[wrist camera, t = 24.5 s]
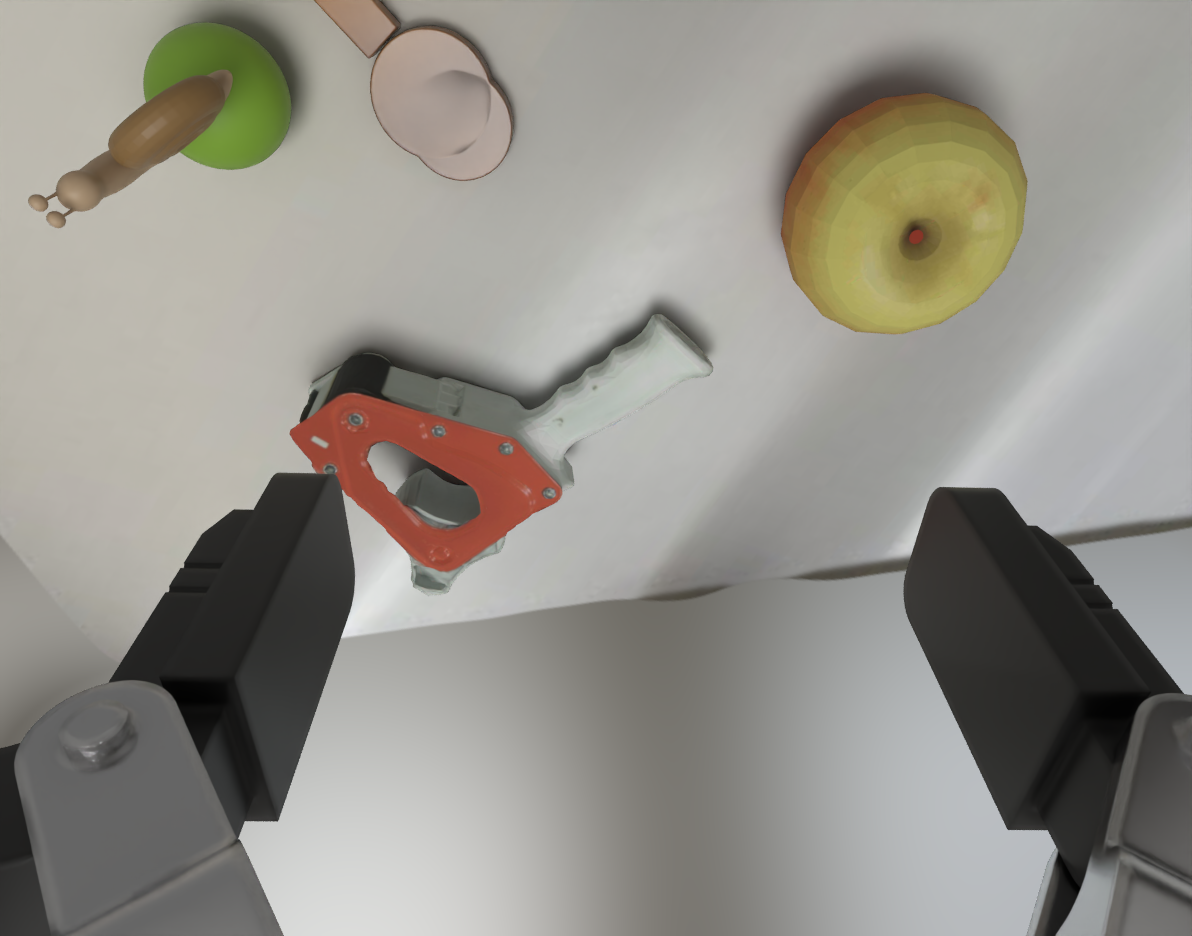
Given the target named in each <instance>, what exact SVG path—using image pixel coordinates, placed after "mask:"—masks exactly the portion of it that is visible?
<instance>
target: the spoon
mask: <svg viewBox="0 0 1192 936" xmlns="http://www.w3.org/2000/svg"><path fill="white" fill-rule="evenodd" d="M314 1H315V2H316V3H317V4H318V5H319V6H320V7H321V8H322V9H323V10H324V12H325V13H326V14H327V15H328V16H329V17H330V18H331V19H332V20H333V21H334V22H335V23H336V24H337V25H338V27H339V28H340V29H341V30H342V31H343V32H344V33H345V34H346V35H347V36H348V37H349V38H350V39H351V40H352V42H353V43H354V44H355V45H356V46H357V47H358V48H359V49H360V50H361V51H362V52H363V53H364V54H365V55H366V57H367V58H371V57H373V56H374V55H375V54H376V53H377V52H378V51H379V50H380V49H381V48H382V47H383V45H384V44H385V43H386V42H387V41H388V40H389V39H390V38H391V36H392V35H393V34H394V33H395V32H396V31H397V30H398V29H399V27H400V26H401V24H400V23H399V22H398V21H397V19H396V18H395V17H394V16H393V15H392V14H391V13H390V12H389V10H388V9H387V8H386V7H385V6H384V5H383V4H382V3H381V2H380V0H314ZM370 93H371V100H372V105H373V108H374V111H375V114H376V116H377V119H378V121H379V122H380V124H381V126H382V128H383V129H384V130H385V132H386V133H387V134H388V136H389V137H390V138H391V139H392V140H393V141H394V142H395V143H396V144H397V145H399V146H400V147H401V148H403V149H404V150H406V151H408V152H409V153H411V154H414V155H416V156H418V157H419V158H420V159H421V161H422V162H423V163H424V164H425V165H426V166H427V167H428V168H430V169H431V170H433V171H434V172H435V173H437V174H439V175H441V176H443V177H446V178H449V179H453V180H459V181H468V180H475V179H478V178H481V177H483V176H486V175H487V174H489V173H491V172H492V171H493V170H494V169H496V168H497V167H498V166H499V164H500V163H501V162H502V161H503V159H504V158H505V156H506V154H507V152H508V149H509V146H510V143H511V140H512V136H513V127H514V125H513V115H512V110H511V107H510V104H509V102H508V99H507V97H506V95H505V94H504V92H503V91H502V89H501V88H500V87H499V85H498V84H497V83H496V82H495V81H494V80H493V79H492V77H491V73H490V71H489V68H488V66H487V64H486V62H485V60H484V59H483V57H482V56H481V54H480V53H479V52H478V50H477V49H476V48H475V47H474V46H473V45H472V44H471V43H470V42H469V41H468V40H466V39H465V38H464V37H462V36H461V35H459V34H457V33H456V32H453V31H451V30H449V29H446V28H442V27H437V26H420V27H415V28H411V29H408V30H406V31H404V32H402V33H400V34H399V35H397V36H396V37H394V38H393V39H391V40H390V41H389V42H388V43H387V44H386V45H385V46H384V48H383V49H382V50H381V51H380V53H379V55H378V57H377V58H376V61H375V63H374V66H373V69H372V74H371V81H370Z"/></svg>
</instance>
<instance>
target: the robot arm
mask: <svg viewBox="0 0 1192 936" xmlns="http://www.w3.org/2000/svg"><path fill="white" fill-rule="evenodd" d="M354 586H355V568H354V560H353V554H352V548H351V542H350V536H349V530H348V524H347V518H346V512H345V506H344V500H343V494H342V489H341V484H340V481H339V479H338V477H337V476H336V475H335V474H320V473H276V474H275V475H274V476H273V477H272V478H271V480H270V482H269V484H268V485H267V487H266V489H265V491H264V492H263V494H262V496H261V498H260V499H259V501H258V503H257V505H256V506H255V508H254V510H235V509H234V510H233V511H231V512H230V513H229V514H227V515H226V516H225V517H224V518H222V519H221V520H220V521H218V522H217V523H216V524H214V525H213V526H212V527H211V528H209V529H208V530H207V531H205V532H204V533H203V534H202V535H201V537H200V538H199V540H198V541H197V543H196V545H195V546H194V548H193V549H192V551H191V552H190V554H189V556H188V557H187V559H186V560H185V562H184V568H180V570H179V572H178V573H177V575H176V576H175V578H174V579H173V581H172V583H171V584H170V586H169V588H170V589H169V592H165V594H164V595H163V597H162V598H161V600H160V602H159V603H158V605H157V606H156V608H155V610H154V611H153V613H152V614H151V616H150V618H149V619H148V621H147V622H146V624H145V625H144V627H143V629H142V630H141V632H140V633H139V635H138V637H137V638H136V640H135V641H134V643H133V644H132V646H131V648H130V649H129V651H128V652H127V654H126V656H125V657H124V659H123V660H122V662H121V664H120V665H119V667H118V668H117V670H116V671H115V673H114V675H113V676H112V678H111V679H110V681H109V683H106V684H102V685H98V686H95V687H93V688H90V689H87V690H84V691H82V692H80V693H77V694H75V695H73V696H71V697H70V698H68V699H66V700H64V701H63V702H61V703H59V704H58V705H56V706H55V707H53V708H52V709H51V710H49V711H48V712H47V713H46V714H45V715H43V716H42V717H41V718H40V719H39V720H38V721H37V722H36V723H35V724H34V725H33V726H32V727H31V729H30V730H29V731H28V732H27V734H26V735H25V737H24V738H23V740H22V741H21V743H19V744H15V745H12V746H8V747H5V748H0V936H284V935H283V933H282V931H281V928H280V926H279V924H278V922H277V919H276V917H275V915H274V913H273V911H272V908H271V906H270V904H269V902H268V899H267V897H266V895H265V893H264V890H263V888H262V886H261V884H260V882H259V879H258V877H257V875H256V873H255V870H254V868H253V866H252V864H251V862H250V859H249V857H248V855H247V853H246V851H245V849H244V847H243V845H242V843H241V841H240V840H239V839H238V837H239V835H240V832H241V829H242V827H243V824H244V822H245V821H278V820H279V817H280V814H281V811H282V808H283V805H284V802H285V799H286V797H287V794H288V791H289V788H290V785H291V782H292V779H293V776H294V773H295V770H296V767H297V764H298V762H299V759H300V756H301V753H302V750H303V747H304V744H305V741H306V738H307V735H308V732H309V729H310V726H311V724H312V721H313V718H314V715H315V712H316V709H317V706H318V703H319V700H320V697H321V694H322V691H323V688H324V686H325V683H326V680H327V677H328V674H329V671H330V668H331V665H332V662H333V659H334V656H335V653H336V651H337V648H338V645H339V642H340V639H341V636H342V633H343V630H344V627H345V624H346V621H347V618H348V615H349V613H350V609H351V606H352V601H353V595H354ZM904 602H905V609H906V613H907V616H908V619H909V621H910V624H911V626H912V628H913V630H914V632H915V634H916V636H917V638H918V641H919V642H920V645H921V647H922V649H923V651H924V653H925V655H926V657H927V660H928V662H929V664H930V666H931V668H932V670H933V672H934V674H935V677H936V679H937V681H938V683H939V685H940V687H941V689H942V691H943V694H944V696H945V698H946V700H947V702H948V704H949V706H950V708H951V711H952V713H953V715H954V717H955V719H956V721H957V723H958V725H959V728H960V729H961V732H962V734H963V736H964V738H965V740H966V742H967V744H968V746H969V749H970V750H971V753H972V755H973V757H974V759H975V761H976V764H977V766H978V768H979V770H980V772H981V774H982V776H983V778H984V781H985V783H986V785H987V787H988V789H989V791H990V793H991V795H992V798H993V800H994V802H995V804H996V806H997V808H998V810H999V812H1000V814H1001V817H1002V819H1003V821H1004V823H1005V825H1006V827H1007V829H1008V830H1048V831H1049V834H1050V835H1051V837H1052V839H1053V841H1054V843H1055V845H1056V849H1055V850H1054V852H1053V853H1052V855H1051V857H1050V859H1049V861H1048V864H1047V866H1046V869H1045V873H1044V876H1043V880H1042V883H1041V887H1040V890H1039V894H1038V897H1037V900H1036V904H1035V907H1034V911H1033V914H1032V918H1031V921H1030V925H1029V928H1028V932H1027V935H1026V936H1192V695H1187V694H1184V693H1183V692H1182V691H1181V690H1180V688H1179V687H1178V686H1177V685H1176V683H1175V682H1174V680H1173V679H1172V678H1171V677H1170V675H1169V674H1168V673H1167V672H1166V670H1165V669H1164V668H1163V666H1162V665H1161V664H1160V663H1159V661H1158V660H1157V659H1156V658H1155V656H1154V655H1153V654H1152V653H1151V651H1150V650H1149V649H1148V648H1147V646H1146V645H1145V644H1144V642H1143V641H1142V640H1141V639H1140V637H1139V636H1138V635H1137V633H1136V632H1135V631H1134V630H1133V628H1132V627H1131V626H1130V625H1129V623H1128V622H1127V621H1126V619H1125V618H1124V617H1123V616H1122V614H1121V613H1120V612H1119V610H1118V609H1113V608H1112V604H1113V603H1112V602H1111V600H1110V599H1109V598H1108V596H1107V595H1106V594H1105V593H1104V591H1103V590H1102V589H1101V588H1100V586H1099V585H1094V579H1093V577H1092V576H1091V575H1090V574H1089V572H1088V571H1087V570H1086V569H1085V567H1084V566H1083V565H1082V564H1081V562H1080V561H1079V560H1078V558H1077V557H1076V556H1075V555H1074V553H1073V552H1072V551H1071V550H1070V549H1068V548H1067V547H1066V546H1064V545H1063V544H1061V543H1060V542H1059V541H1057V540H1056V539H1055V538H1053V537H1052V536H1050V535H1049V534H1048V533H1046V532H1045V531H1043V530H1042V529H1041V528H1039V527H1038V526H1027V524H1026V523H1025V522H1024V520H1023V519H1022V518H1021V516H1020V515H1019V514H1018V512H1017V511H1016V510H1015V508H1014V507H1013V506H1012V504H1011V503H1010V502H1009V500H1008V499H1007V497H1006V496H1005V495H1004V494H1003V493H1002V492H1001V491H1000V490H998V489H996V488H957V487H939V488H937V489H936V490H935V491H934V492H933V493H932V495H931V497H930V498H929V501H928V504H927V507H926V510H925V513H924V517H923V520H922V523H921V526H920V529H919V533H918V536H917V539H916V542H915V545H914V548H913V552H912V555H911V558H910V561H909V564H908V567H907V571H906V575H905V580H904Z"/></svg>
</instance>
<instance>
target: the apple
mask: <svg viewBox="0 0 1192 936" xmlns="http://www.w3.org/2000/svg"><path fill="white" fill-rule="evenodd" d="M1026 192H1027V178H1026V175H1025V172H1024V169H1023V166H1022V163H1021V160H1020V157H1019V154H1018V151H1017V148H1016V145H1015V142H1014V141H1013V140H1012V139H1011V138H1010V137H1009V136H1008V135H1007V134H1006V133H1005V132H1004V131H1003V130H1002V129H1001V128H1000V127H998V126H997V125H996V124H995V123H994V122H993V121H992V120H991V119H990V118H989V117H988V116H987V115H986V114H985V113H984V112H982V111H981V110H979V109H978V108H977V107H974V106H971V105H968V104H964V103H961V102H958V101H954V100H951V99H948V98H945V97H941V96H938V95H934V94H929V93H919V94H911V95H903V96H895V97H887V98H880V99H879V100H877V101H875V102H873V103H871V104H869V105H867V106H865V107H863V108H861V109H859V110H857V111H855V112H853V113H851V114H850V115H848V116H846V117H844V118H842V119H840V120H839V121H838V122H837V123H836V124H835V125H834V126H833V127H832V128H831V129H830V130H829V131H828V132H827V133H826V134H825V135H824V136H823V137H822V138H821V139H820V140H819V141H818V142H817V143H816V144H815V145H814V146H813V147H812V148H811V149H810V150H809V151H808V152H807V153H806V155H805V157H804V159H803V161H802V163H801V165H800V167H799V169H798V171H797V173H796V175H795V177H794V179H793V181H792V183H791V185H790V187H789V189H788V191H787V193H786V198H785V206H784V213H783V221H782V229H781V237H782V240H783V244H784V248H785V252H786V256H787V259H788V263H789V267H790V271H791V274H792V277H793V280H794V281H795V283H796V284H797V285H798V286H799V287H800V289H801V290H802V291H803V292H804V293H805V295H806V296H807V297H808V298H809V300H810V301H811V302H812V303H813V304H814V306H815V307H816V308H817V309H818V310H819V312H820V313H821V314H822V315H823V316H825V317H827V318H829V319H831V320H833V321H835V322H837V323H839V324H841V325H843V326H845V327H847V328H849V329H851V330H853V331H855V332H869V333H883V334H903V333H907V332H910V331H914V330H918V329H922V328H925V327H929V326H933V325H936V324H940V323H942V322H944V321H945V320H947V319H948V318H950V317H952V316H953V315H955V314H957V313H958V312H960V311H961V310H963V309H965V308H966V307H968V306H969V305H971V304H973V303H974V302H976V301H977V300H978V299H979V297H980V296H981V295H982V294H983V293H984V292H985V291H986V290H987V289H988V288H989V286H990V285H991V284H992V283H993V282H994V281H995V280H996V279H997V278H998V277H999V275H1000V274H1001V273H1002V272H1003V271H1004V270H1005V268H1006V265H1007V263H1008V261H1009V259H1010V257H1011V255H1012V253H1013V251H1014V249H1015V246H1016V244H1017V242H1018V240H1019V238H1020V236H1021V234H1022V230H1023V222H1024V212H1025V202H1026Z"/></svg>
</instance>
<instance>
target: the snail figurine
mask: <svg viewBox="0 0 1192 936" xmlns="http://www.w3.org/2000/svg"><path fill="white" fill-rule="evenodd" d="M144 95H145V100H146V103H145V104H144V105H142V106H141V107H140V108H138V109H137V110H136V111H135V112H133V113H132V114H131V115H130V116H129V117H128V118H126V119H125V120H124V121H123V122H122V123H121V124H120V125H119V126H118V127H117V128H116V129H115V130H114V131H113V133H112V134H111V136H110V138H109V143H108V146H109V151H106V152H104V153H103V154H101V155H99V156H98V157H96V158H94V159H93V160H92V161H90V162H89V163H88V164H86V165H85V166H84V167H83V168H82V169H80V170H77V171H71V172H68V173H66V174H65V175H63V176H62V177H61V178H60V180H59V181H58V183H57V187H56V192H55V193H54V194H52V195H50V196H49V197H47V198H45V197H43V196H41V195H38V194H35V195H32V196H30V197H29V199H28V203H29V205H30V206H31V208H33V209H34V210H36V211H39V212H42V211H45V210H46V209H47V208H48V202H47V200H49V199H51V198H53V197H55V196H57V197H58V200H59V201H60V203H61V204H62V205H63V206H65V207H66V208H68V209H70V210H69V211H68V212H67V213H65V214H61V213H60V212H57V211H52V212H49V213H48V214H47V216H46V220H47V222H48V223H49V224H50V225H51V226H53V227H55V228H61V227H63V226H64V225H65V223H66V219H65V216H67V215H69V214H70V213H72V212H74V211H80V212H81V211H87V210H90V209H92V208H94V207H95V206H97V205H98V204H99V202H100V201H101V200H102V199H103V198H104V197H107V196H109V195H112V194H114V193H116V192H118V191H120V190H122V189H123V188H125V187H126V186H128V185H129V184H131V183H132V182H133V181H135V180H136V179H137V178H138V177H140V176H141V175H142V174H144V173H145V172H146V171H147V170H149V169H150V168H152V167H153V166H155V165H157V164H159V163H161V162H163V161H165V160H167V159H168V158H169V157H171V156H173V155H175V154H177V153H179V152H181V153H182V154H183V155H185V156H186V157H188V158H190V159H192V160H193V161H196V162H198V163H200V164H203V165H205V166H209V167H213V168H217V169H226V170H234V169H243V168H247V167H250V166H253V165H256V164H258V163H260V162H262V161H264V160H265V159H267V158H268V157H269V156H270V155H272V154H273V153H274V152H275V151H276V150H277V148H278V147H279V146H280V144H281V143H282V141H283V140H284V138H285V136H286V133H287V131H288V128H289V124H290V118H291V99H290V93H289V89H288V86H287V83H286V80H285V78H284V75H283V73H282V71H281V69H280V68H279V66H278V64H277V63H276V61H275V60H274V59H273V57H272V56H271V55H270V54H269V53H268V52H267V51H266V49H265V48H264V47H262V46H261V45H260V44H259V43H258V42H257V41H255V40H254V39H253V38H251V37H250V36H248V35H246V34H245V33H243V32H241V31H239V30H237V29H234V28H232V27H229V26H226V25H222V24H217V23H207V22H203V23H193V24H188V25H185V26H182V27H179V28H177V29H175V30H173V31H171V32H170V33H168V34H167V35H166V36H164V37H163V38H162V39H161V40H160V41H159V42H158V43H157V45H156V46H155V47H154V49H153V50H152V52H151V54H150V56H149V58H148V61H147V64H146V67H145V72H144Z"/></svg>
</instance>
